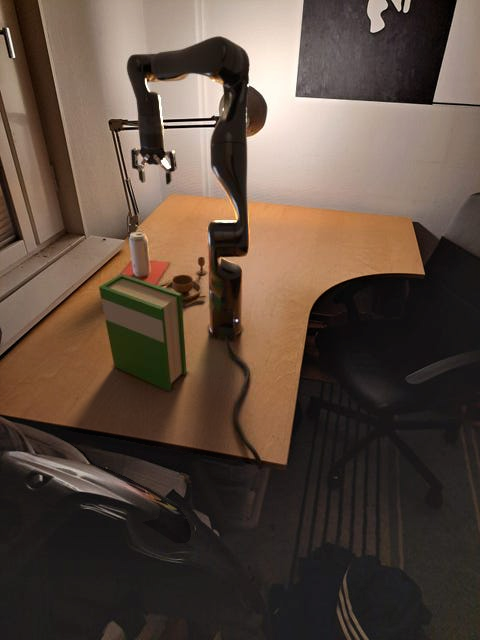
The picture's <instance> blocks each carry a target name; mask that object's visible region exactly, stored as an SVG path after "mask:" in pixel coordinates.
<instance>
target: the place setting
mask: <svg viewBox="0 0 480 640" xmlns="http://www.w3.org/2000/svg"><path fill="white" fill-rule="evenodd" d="M197 264H198V266H199V267H200V269H199V271H198V272H197V275H199V276H204V275H206V274H207V273H206V271H204V268H203V267H204V266H205V264H206V259H205V257H204V256H199V257H198V258H197ZM159 286H160V287H163V286H164V288H166V289H169V290H172V291H175V292H178V293H181V294H182V301H189V300H192V299H194V298H197V299H195V300H192V301H191V302H188V303H186V304H185V305H183V307H187V306H189V305H192V304H193V303H195V302H199V301H200V302H201V301H203V300H205V299H206V298H207V295H201V296H199V295H200V293H201V291H202V286H201V284H200V283H199V282H198V281H196V280H194V278H193V277H192V276H191V275H189V274H178V275H176V276H174V277H173V278H172V279H171V280H170V281H167V282H164V283H162V284H160V285H159ZM197 296H199V297H197Z"/></svg>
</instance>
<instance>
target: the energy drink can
mask: <svg viewBox="0 0 480 640" xmlns="http://www.w3.org/2000/svg"><path fill="white" fill-rule="evenodd" d="M128 242H129V243H128V244H129V250H130V257H131V262H132V265H133V272H134V274H135V275H136V276H138V277H145V276H148V275H149V273H150V272H151V268H150V261H151V259H150V252H149V243H148V237H147V236H146V233H145V232H144V231H133V232H130V235H129V238H128Z"/></svg>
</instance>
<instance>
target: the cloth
mask: <svg viewBox="0 0 480 640" xmlns="http://www.w3.org/2000/svg"><path fill="white" fill-rule="evenodd" d="M169 265H170V262H164V261H155V260H154V261H153V260H150V268H151V272H150V273H149V275H148V276H145V277H138V276H136V275H135V274H134V272H133V265H132V261H131V262H130V263H129V264H128V265H127V267H125V269H124V270H123V271H122V273H121V274H124V275H127V276H130V277H133V278H136V279H139V280H142V281H145V282H148V283H151V284H154V285H157V284H158V282H159V281H160V279H161V278H162V276H163V274H164V273H165V271H166V269H167V268H168V266H169Z"/></svg>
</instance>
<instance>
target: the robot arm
mask: <svg viewBox="0 0 480 640" xmlns="http://www.w3.org/2000/svg"><path fill="white" fill-rule="evenodd" d="M250 65H251V64H250V57H249V54H248V53H247V51H246V50H245V48H243V47H242V46H240V45H239V44H237V43H236V42H234V41H232V40H230V39H228V38H226V37H224V36H220V35H218V36H213V37H209V38H206V39H203V40H202V41H200V42H197V43H195V44H192V45H189V46H187V47H184V48H181V49H175V50H167V51H159V52H157V53H137V54H136V53H134V54H131V55H130V56H129V57H128V59H127V62H126V72H127V73H126V74H127V76H128V80H129V82H130V85H131V88H132V91H133V94H134V97H135V101H136V110H137V128H138V137H139V145H140V149H139V148H138V149H137V147H134V148H132V149H131V150H130V156H131V157H130V158H131V168H132V170H137V172H138V180H139V181H140V183H142V184H144V183H145V182H146V173H145V169H144V168H145V167H146V166H147V165H154V166H160V167H161V168H162V169H163V171H165V184H166V185H168V186H169V185H170V184H171V182H172V181H173V178H172V173H173V172H176V171H177V169H178V166H177V165H178V164H177V158H176V151H175V150H169V151H168V150H166V148H165V147H166V146H165V133H164V130H165V129H164V122H163V121H164V120H163V116H162V104H161V103H162V102H161V97H160V94H159V93H158V92H155V91H151V90H150V89H149V87H148V85H147V83H157V82H159V83H160V82H166V83H167V82H179V81H182V80H185V79H186V78H188V77H189V76H190V75H192V74H193V75H200V76H204V77H206V78H208V79H209V80H211V81H213V82H215V83H218V84H220V85H222V89H223V107H222V112H221V115H220V117H219V119H218V121H217V123H216V124H215V126H214V129H213V131H212V133H211V135H210V143H209V144H210V145H209V147H210V148H209V149H210V150H209V151H210V168H211V170H212V173H213V175H214V177H215V179H216V180H217V182H218V184H220V186H221V188H222V189H223V190H224V192H225V194H226V195H227V198H228V199H229V201H230V204H231V205H232V208H233V211H234V214H235V219H236V220H212V221H210V222H209V223H208V225H207V228H206V245H207V255H208V308H209V309H208V311H209V332H210V334H211V337H212V338H217V339H219V340H224V341H225V346H226V349H227V351H228V353H229V355H230V356H231V358H232V359H233V360H234V361H235V362H236V363H238V364H239V365H241V366H242V368H244V371H245V379H244V382H243V384H242V387H241V390H240V393H239V395H238V397H237V399H236V401H235V403H234V406H233V413H232V415H233V422H234V426H235V428H236V431H237V433H238V435H239V438H240V440H241V441H242V443H243V444H244V446H245V447H246V448H247V449H248V450H249V452H251V454H252V456H253V457H254V459H255V462H256V467H257V468H258V469H259V470H262V469H263V463H262V459H261V457H260V455H259V453H258V451H257V449H256V448H255V447H254V446H253V445H252V444H251V443H250V441H249V440H248V438H247V437H246V436H245V434H244V431H243V430H242V427H241V425H240V421H239V417H238V416H239V415H238V413H239V407H240V404H241V402H242V400H243V398H244V396H245V393H246V389H247V387H248V384H249V381H250V379H251V372H250V368H249V366H248V365H247V364H246V362H244V361H243V360H242V359H240V358H239V357H238V356H237V355H236V354H235V353H234V351H233V350H232V347H231V344H230V341H232V342H233V341H236V339H237V336H238V335H240V334H241V332H242V312H243V283H244V282H243V278H244V271H243V268H242V267H241V266H240V265H239V264H238V263H236V262H233V261H230V260H228V259H225V258H244V257H245V258H246V257H247V256H248V254H249V251H250V245H251V243H250V242H251V237H250V221H249V206H248V136H247V135H248V131H247V129H248V127H247V126H248V96H249V82H250V73H251V72H250V70H251V69H250V68H251V67H250ZM139 156H141V157H142V158H143V159H142V160H141V161H140V163H139ZM166 156H167V158H168V159H169V162H168V161H167V160H166ZM169 163H170V165H169ZM255 578H256V574H255V573H254V574H253V576H252V577H251V582H254V581H255Z"/></svg>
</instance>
